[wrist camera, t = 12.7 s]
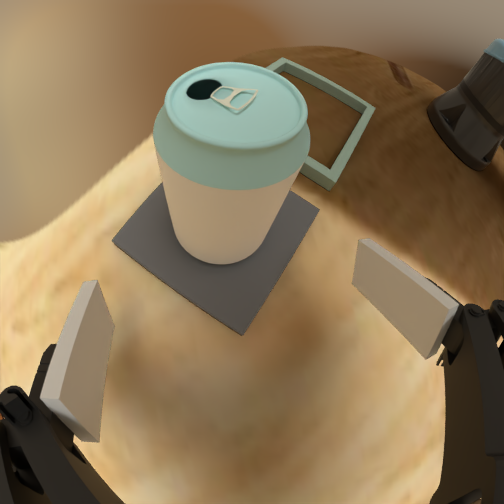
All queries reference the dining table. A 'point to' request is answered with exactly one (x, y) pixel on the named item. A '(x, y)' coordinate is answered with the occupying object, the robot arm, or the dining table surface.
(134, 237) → the coaster
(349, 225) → the dining table surface
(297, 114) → the can
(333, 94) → the corral
